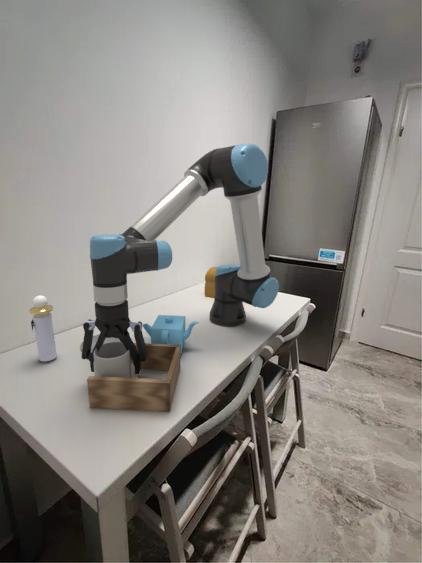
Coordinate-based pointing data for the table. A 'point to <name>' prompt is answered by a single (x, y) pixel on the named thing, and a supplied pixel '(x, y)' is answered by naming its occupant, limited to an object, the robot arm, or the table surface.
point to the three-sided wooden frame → (139, 384)
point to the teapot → (169, 330)
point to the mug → (112, 361)
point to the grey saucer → (103, 343)
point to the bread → (210, 282)
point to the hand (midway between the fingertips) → (117, 382)
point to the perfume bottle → (43, 328)
